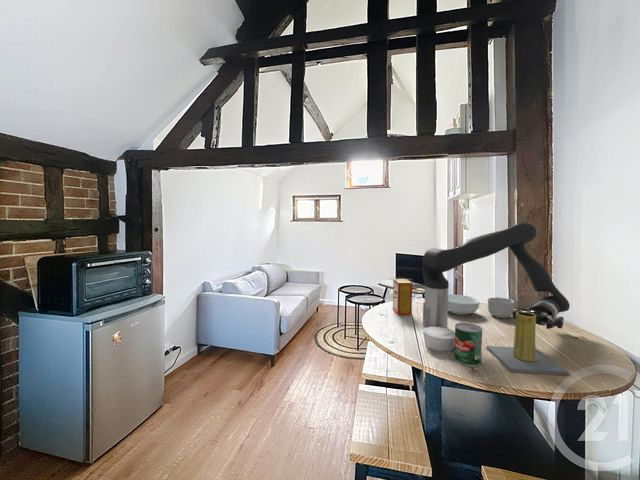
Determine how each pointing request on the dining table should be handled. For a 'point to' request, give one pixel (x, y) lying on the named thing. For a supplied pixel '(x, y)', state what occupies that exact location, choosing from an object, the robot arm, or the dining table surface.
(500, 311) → the teacup
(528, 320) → the vase
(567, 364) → the dining table surface
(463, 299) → the cereal bowl
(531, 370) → the slate mat
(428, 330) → the ramekin
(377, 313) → the dining table surface
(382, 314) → the dining table surface
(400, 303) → the baking soda box
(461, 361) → the canned tomato
